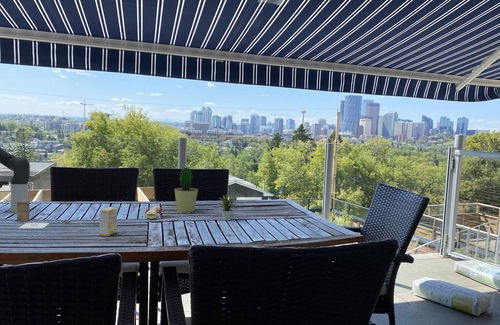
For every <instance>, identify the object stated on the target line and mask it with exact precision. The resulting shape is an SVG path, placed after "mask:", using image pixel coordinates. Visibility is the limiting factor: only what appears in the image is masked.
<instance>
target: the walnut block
mask: <svg viewBox="0 0 500 325" xmlns="http://www.w3.org/2000/svg"><path fill="white" fill-rule="evenodd" d="M16 216H17V217H16V220H17V223H28V222H29V221H30V200H28V201H19V202H17V213H16Z"/></svg>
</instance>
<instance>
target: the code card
mask: <svg viewBox="0 0 500 325" xmlns="http://www.w3.org/2000/svg"><path fill="white" fill-rule="evenodd" d="M49 224H50V222H24V224H22V225H21V226H19V227H18V229H44V228H45V227H47V226H48V225H49Z"/></svg>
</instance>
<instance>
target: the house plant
mask: <svg viewBox="0 0 500 325" xmlns="http://www.w3.org/2000/svg"><path fill="white" fill-rule="evenodd" d="M222 196H223V197H222V198H221V197H220V196H219V200H221V202H222V203H220V202H217V204H218V205H220V206H222V209H221V217H222V221H223V220H231V221H232V217H233V209H232V208H233V207H235V206H237V204H238V203H234V202H236V201H237V202H238V201H239V200H238V199H237V197H236V198H234V195H232V194H231V195H230V196H229V197H228V194H227V193H226V194H225V195H224V194H223V195H222ZM225 196H226V197H225Z"/></svg>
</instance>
